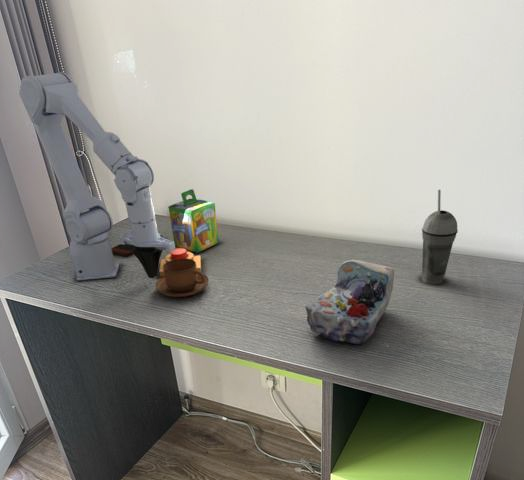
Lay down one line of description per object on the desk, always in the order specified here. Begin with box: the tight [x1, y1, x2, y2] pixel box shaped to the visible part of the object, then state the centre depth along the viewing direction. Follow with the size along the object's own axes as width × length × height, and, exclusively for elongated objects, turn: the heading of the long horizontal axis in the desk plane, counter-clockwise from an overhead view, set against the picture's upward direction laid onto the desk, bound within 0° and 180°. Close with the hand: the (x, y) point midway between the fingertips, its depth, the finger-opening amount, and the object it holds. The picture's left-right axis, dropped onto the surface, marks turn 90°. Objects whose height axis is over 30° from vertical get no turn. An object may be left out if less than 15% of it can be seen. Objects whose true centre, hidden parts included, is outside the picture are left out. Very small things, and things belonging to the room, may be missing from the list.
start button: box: [169, 248, 188, 260], centre depth 122 cm, size 4×4×2 cm
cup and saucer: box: [155, 259, 209, 298], centre depth 112 cm, size 12×12×6 cm
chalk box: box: [167, 188, 220, 254], centre depth 133 cm, size 9×9×15 cm
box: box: [158, 251, 202, 278], centre depth 123 cm, size 10×8×3 cm
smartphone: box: [111, 234, 164, 257], centre depth 139 cm, size 7×1×15 cm
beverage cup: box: [421, 189, 458, 285], centre depth 106 cm, size 7×7×20 cm
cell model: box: [305, 259, 395, 345], centre depth 94 cm, size 13×11×20 cm
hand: (153, 276), depth 116 cm, fingers closed
